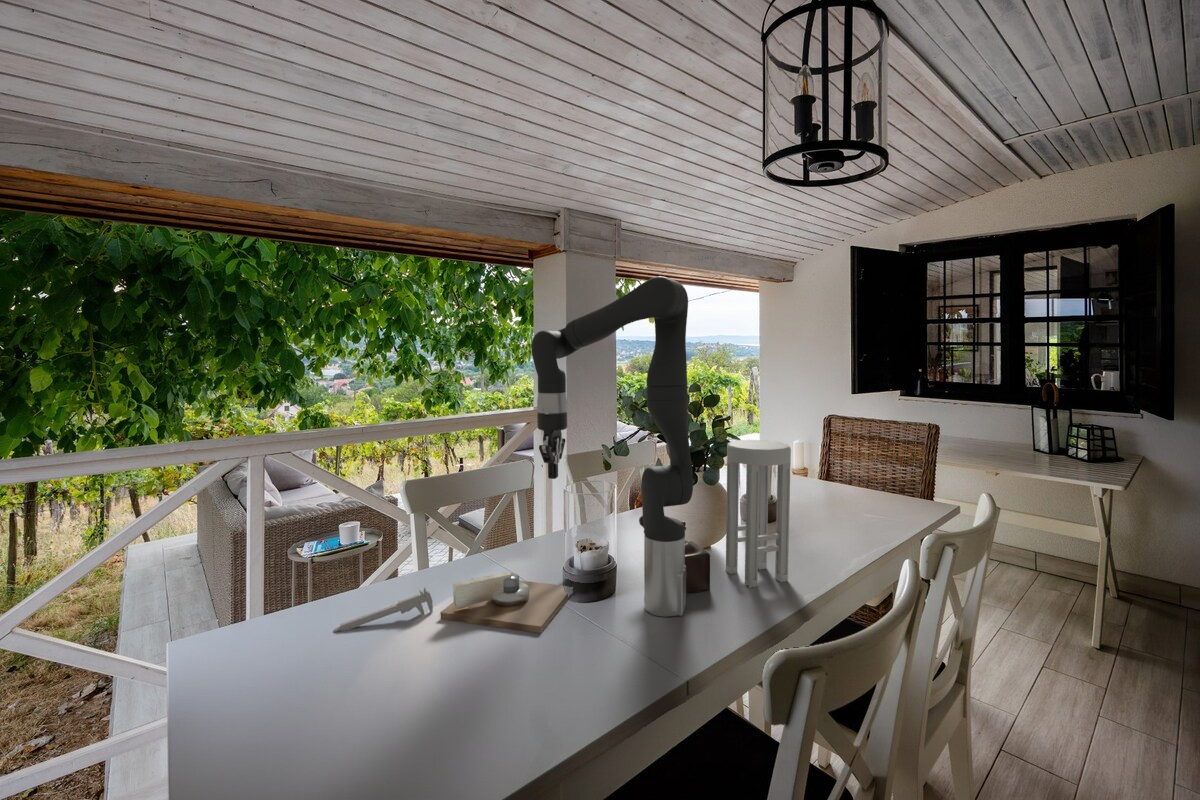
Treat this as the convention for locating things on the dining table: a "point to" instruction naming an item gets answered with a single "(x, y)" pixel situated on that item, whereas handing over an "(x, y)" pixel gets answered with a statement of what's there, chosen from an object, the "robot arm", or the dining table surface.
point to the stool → (758, 507)
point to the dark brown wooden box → (694, 566)
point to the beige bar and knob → (491, 590)
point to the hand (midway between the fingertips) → (553, 478)
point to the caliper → (391, 610)
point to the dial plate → (514, 610)
